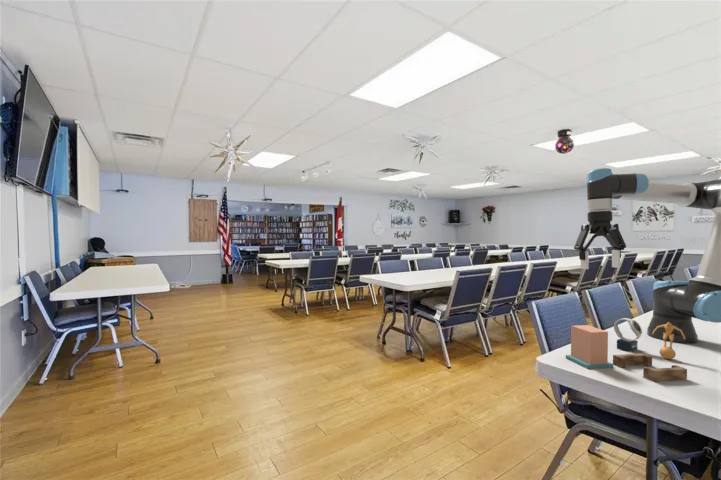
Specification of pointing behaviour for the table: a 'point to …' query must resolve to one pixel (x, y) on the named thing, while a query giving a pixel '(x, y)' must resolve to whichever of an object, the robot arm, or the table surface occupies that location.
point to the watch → (624, 342)
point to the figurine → (668, 351)
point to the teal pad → (587, 363)
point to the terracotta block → (589, 344)
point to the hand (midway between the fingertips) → (600, 268)
